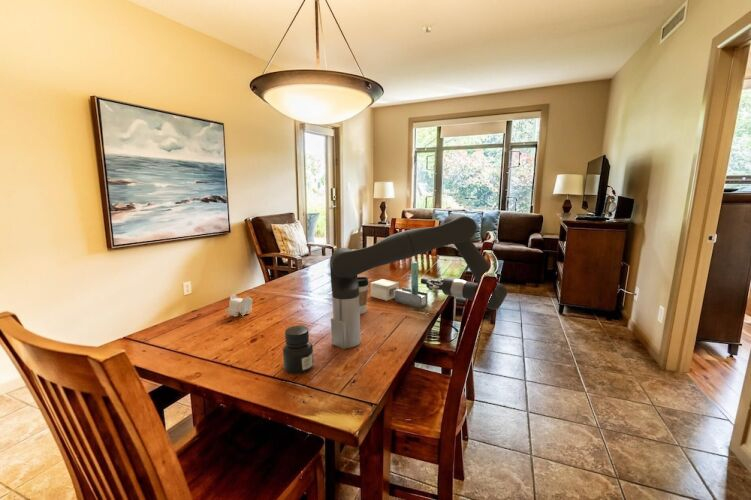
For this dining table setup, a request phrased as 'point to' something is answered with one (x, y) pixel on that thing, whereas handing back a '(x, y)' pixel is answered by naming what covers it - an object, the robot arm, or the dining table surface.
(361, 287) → the coffee cup
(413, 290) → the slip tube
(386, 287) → the socket
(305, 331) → the ink bottle
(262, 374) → the dining table surface
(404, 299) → the sleeve
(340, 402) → the dining table surface
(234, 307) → the elephant figurine
